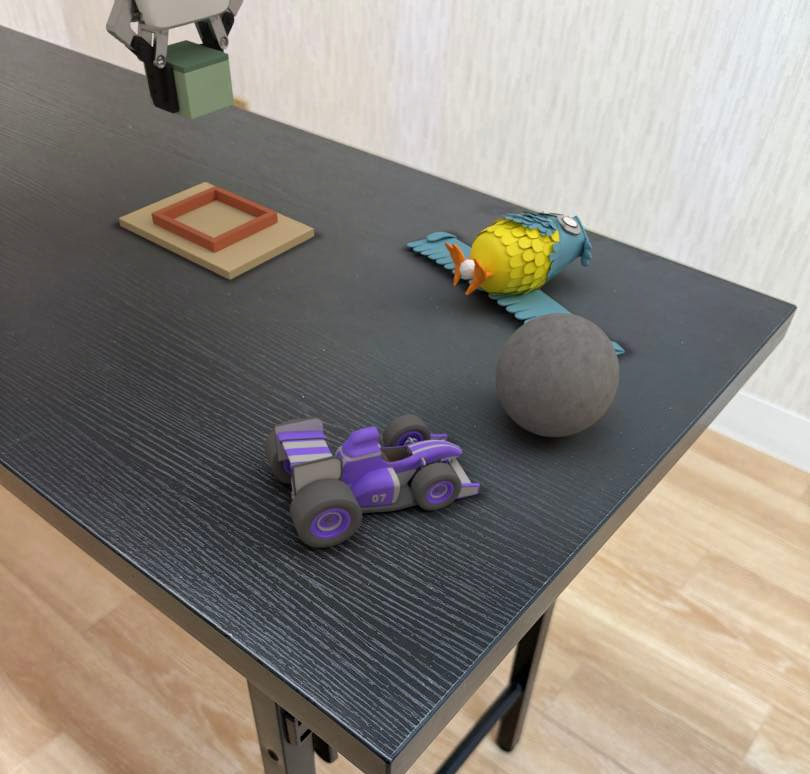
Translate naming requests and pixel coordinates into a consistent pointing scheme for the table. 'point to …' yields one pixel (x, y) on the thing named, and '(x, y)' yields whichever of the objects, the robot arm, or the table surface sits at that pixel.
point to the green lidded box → (199, 78)
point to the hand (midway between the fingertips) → (191, 98)
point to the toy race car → (362, 474)
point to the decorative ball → (557, 375)
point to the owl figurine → (514, 259)
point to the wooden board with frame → (217, 229)
